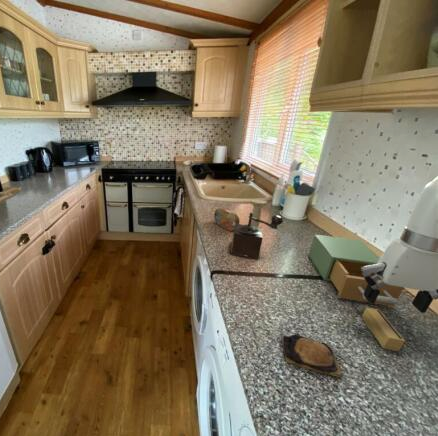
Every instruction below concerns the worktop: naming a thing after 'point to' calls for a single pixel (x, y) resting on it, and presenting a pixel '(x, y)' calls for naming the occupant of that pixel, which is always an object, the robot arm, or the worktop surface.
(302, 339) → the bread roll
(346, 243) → the cabinet
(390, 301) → the drawer
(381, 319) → the wooden block
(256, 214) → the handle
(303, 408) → the worktop surface
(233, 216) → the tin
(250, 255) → the manual coffee grinder
